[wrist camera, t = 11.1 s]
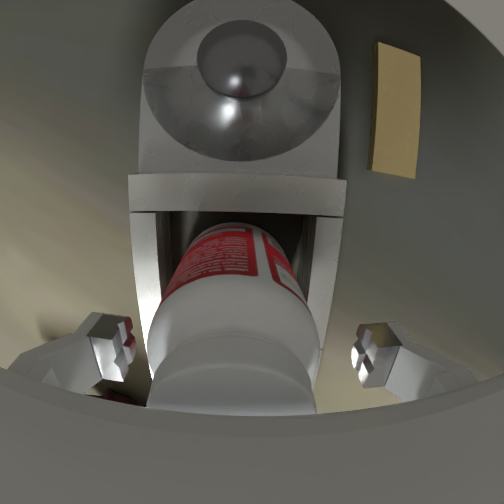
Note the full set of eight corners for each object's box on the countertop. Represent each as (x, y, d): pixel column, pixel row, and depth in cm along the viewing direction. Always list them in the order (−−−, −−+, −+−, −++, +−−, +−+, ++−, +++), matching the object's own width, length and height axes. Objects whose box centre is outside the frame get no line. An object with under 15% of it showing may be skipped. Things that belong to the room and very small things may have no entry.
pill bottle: (169, 294, 18) (108, 441, 7) (205, 202, 16) (142, 295, 5) (261, 329, 19) (279, 484, 8) (306, 246, 17) (389, 376, 6)
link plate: (370, 47, 14) (378, 41, 12) (410, 61, 14) (420, 56, 13) (363, 169, 16) (371, 170, 15) (404, 176, 16) (414, 179, 15)
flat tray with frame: (160, 5, 12) (147, -18, 9) (330, 10, 12) (346, -12, 9) (177, 430, 22) (173, 456, 19) (290, 433, 23) (294, 459, 20)
